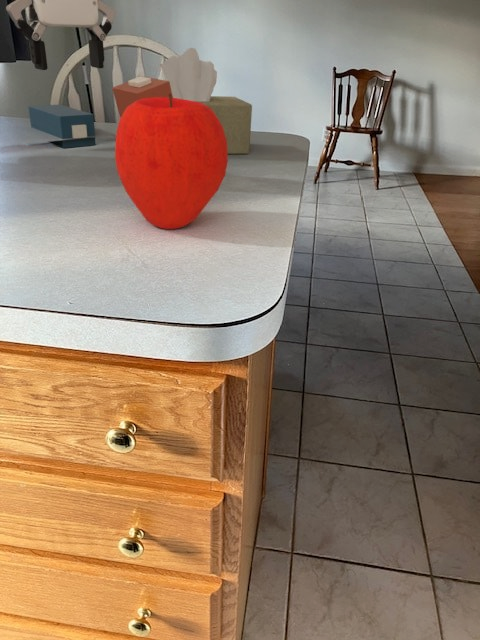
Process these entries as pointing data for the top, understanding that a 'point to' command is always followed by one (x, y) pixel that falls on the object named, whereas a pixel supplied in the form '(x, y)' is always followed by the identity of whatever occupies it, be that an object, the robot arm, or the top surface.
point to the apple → (170, 158)
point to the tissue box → (210, 97)
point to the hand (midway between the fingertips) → (70, 68)
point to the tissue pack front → (139, 91)
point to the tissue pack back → (64, 124)
